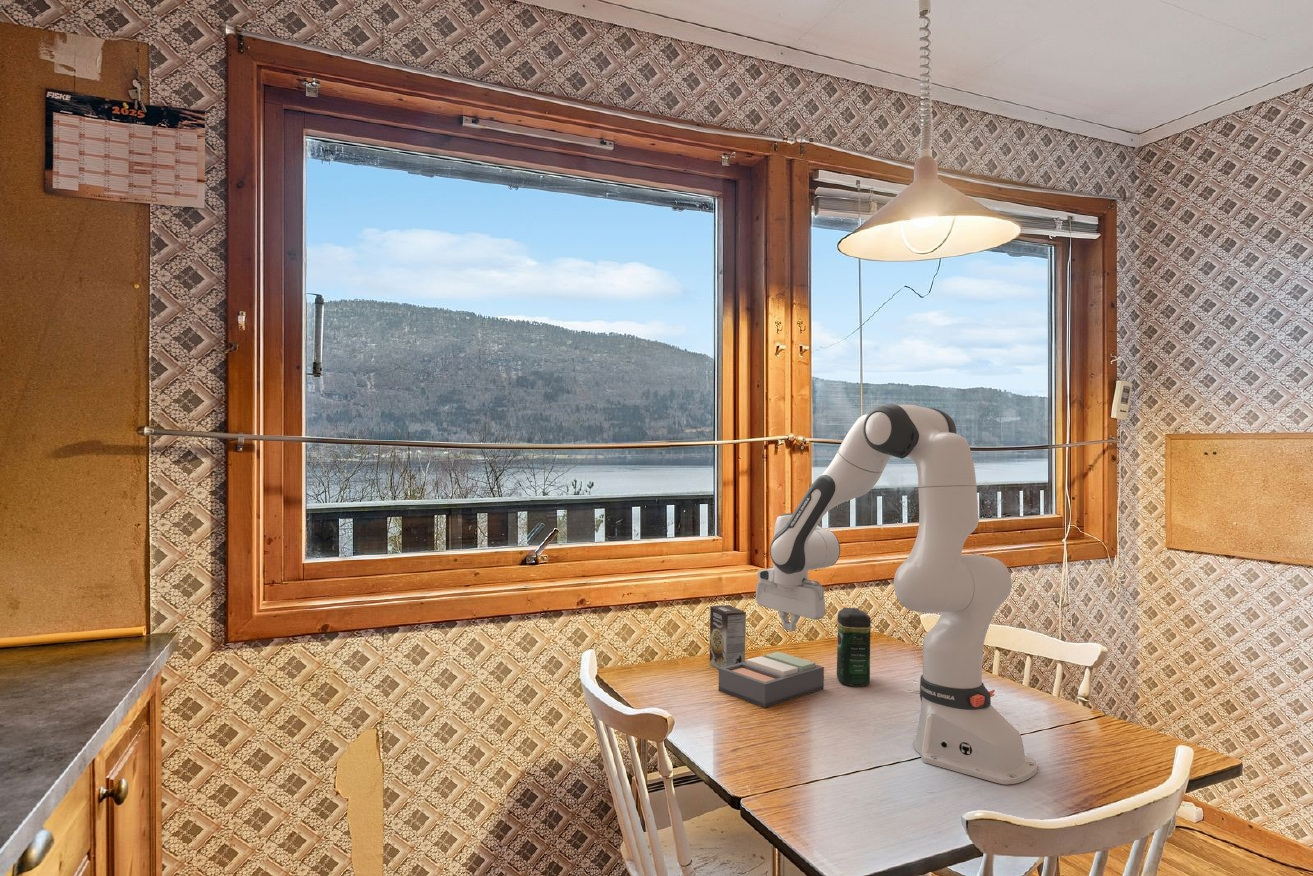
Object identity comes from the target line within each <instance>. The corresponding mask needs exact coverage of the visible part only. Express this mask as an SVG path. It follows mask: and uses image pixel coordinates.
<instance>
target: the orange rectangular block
mask: <svg viewBox="0 0 1313 876" xmlns="http://www.w3.org/2000/svg"><path fill="white" fill-rule="evenodd" d="M731 671H734V672H737V673H740V674H743V675H746V676H749V677H752V678H755V679H757V680H760V681H763V682H766V681H770V680H773V679H775V678H772V677H769V676H766V675H763V674H760V673H757V672H754V671H751V670H748V669H745V668H738V669H735V670H731Z"/></svg>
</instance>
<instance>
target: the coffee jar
mask: <svg viewBox="0 0 1313 876" xmlns="http://www.w3.org/2000/svg"><path fill="white" fill-rule="evenodd" d="M836 620H837V643H836V644H837V646H836V647H837V648H836V649H837V650H836V651H837V652H836V676H837V679H838V681H840V682H841V684H844V685H848V686H852V687H862V686H868V685H869V684H870V682H871V629H872V623H871V622H872V621H871V616H870V615H869V614H867V613H866V612H864V611H863V610H861V609H859V608H857V607H856V608H855V607H843V608H842V609H840V610H839V611H838V613H837V619H836Z"/></svg>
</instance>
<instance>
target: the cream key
mask: <svg viewBox="0 0 1313 876" xmlns="http://www.w3.org/2000/svg"><path fill="white" fill-rule="evenodd" d="M746 661H747V663H746V664H748V665H751V666H754V667H757V668H760V669H763V670H766V671H769V672H772V673H775V674H778V675H781V676H787V675H791V674H794V673H797V672H798V668H797V667H794V666H791V665H788V664H784V663H781V662H778V661H775V660H771V659H768V658H765V657H764V656H762V655H760V656H755V657H752V658H748V659H746Z"/></svg>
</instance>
